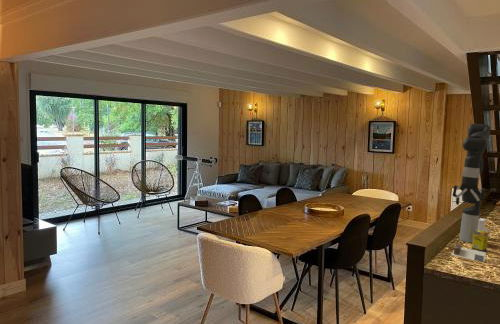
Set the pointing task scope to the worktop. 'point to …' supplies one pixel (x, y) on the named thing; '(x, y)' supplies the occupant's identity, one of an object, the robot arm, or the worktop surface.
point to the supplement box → (480, 240)
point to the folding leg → (457, 249)
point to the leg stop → (479, 258)
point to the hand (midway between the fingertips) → (466, 206)
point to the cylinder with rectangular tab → (482, 225)
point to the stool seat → (469, 254)
